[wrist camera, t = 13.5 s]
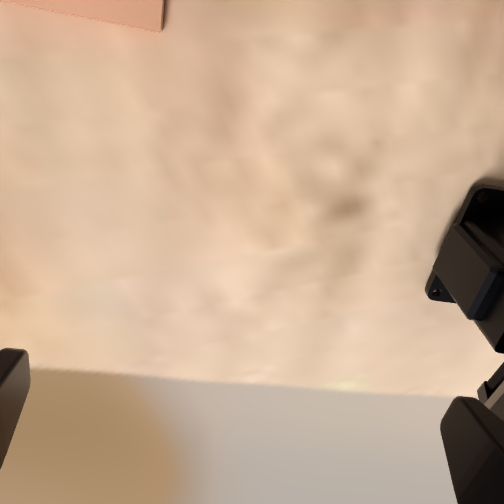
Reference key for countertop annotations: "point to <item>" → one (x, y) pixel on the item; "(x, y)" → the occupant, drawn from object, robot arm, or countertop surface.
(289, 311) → the countertop surface
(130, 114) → the countertop surface
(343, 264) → the countertop surface
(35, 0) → the tile
